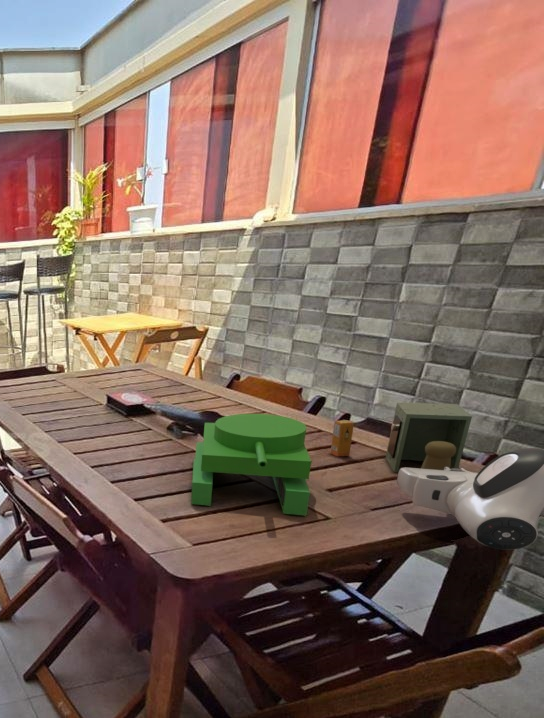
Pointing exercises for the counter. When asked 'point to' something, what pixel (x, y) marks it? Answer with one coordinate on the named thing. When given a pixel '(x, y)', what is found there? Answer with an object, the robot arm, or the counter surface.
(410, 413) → the oven box
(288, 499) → the tank
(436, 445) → the cork
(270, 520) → the counter surface
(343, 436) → the supplement box
